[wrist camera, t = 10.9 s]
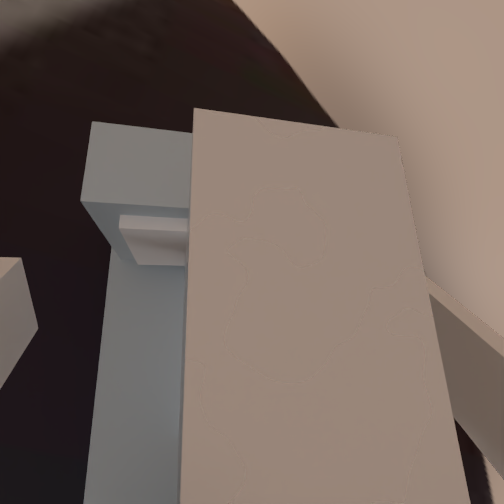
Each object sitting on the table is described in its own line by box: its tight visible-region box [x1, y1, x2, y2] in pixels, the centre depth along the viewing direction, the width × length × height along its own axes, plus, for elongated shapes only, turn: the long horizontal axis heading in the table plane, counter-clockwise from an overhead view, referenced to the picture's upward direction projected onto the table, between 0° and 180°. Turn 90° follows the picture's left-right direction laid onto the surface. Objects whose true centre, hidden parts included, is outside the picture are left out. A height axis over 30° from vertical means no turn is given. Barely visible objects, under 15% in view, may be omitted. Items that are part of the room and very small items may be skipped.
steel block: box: [177, 108, 470, 504], centre depth 10 cm, size 4×8×12 cm, turn 1°
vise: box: [80, 121, 192, 504], centre depth 13 cm, size 12×21×8 cm, turn 2°
